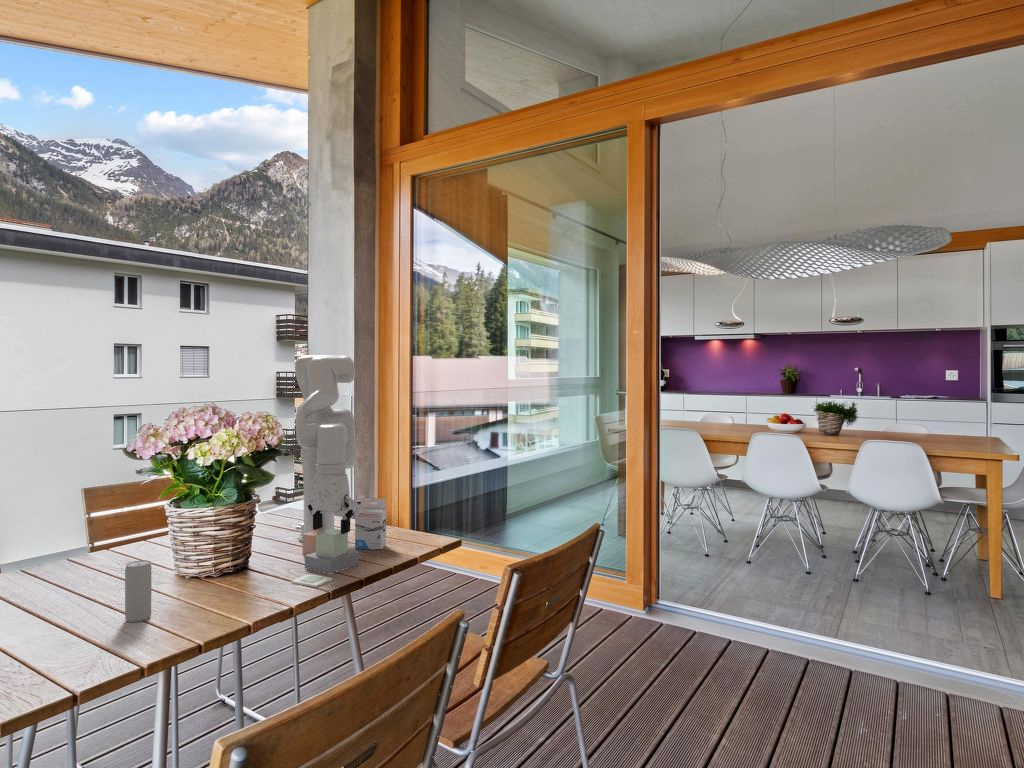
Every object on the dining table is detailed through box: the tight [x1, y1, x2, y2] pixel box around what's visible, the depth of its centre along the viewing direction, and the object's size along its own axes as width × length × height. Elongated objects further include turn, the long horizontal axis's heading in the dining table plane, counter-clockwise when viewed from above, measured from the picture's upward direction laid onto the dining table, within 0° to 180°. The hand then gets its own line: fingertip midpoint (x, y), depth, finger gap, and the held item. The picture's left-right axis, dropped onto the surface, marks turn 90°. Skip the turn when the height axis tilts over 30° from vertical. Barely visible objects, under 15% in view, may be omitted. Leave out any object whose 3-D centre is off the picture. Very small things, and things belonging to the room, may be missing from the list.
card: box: [291, 573, 333, 588], centre depth 154 cm, size 8×6×1 cm
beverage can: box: [124, 559, 152, 624], centre depth 129 cm, size 5×5×12 cm
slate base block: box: [304, 549, 359, 575], centre depth 166 cm, size 10×10×4 cm
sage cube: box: [316, 528, 349, 558], centre depth 166 cm, size 6×6×6 cm
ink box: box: [354, 497, 387, 550], centre depth 185 cm, size 9×5×15 cm, turn 84°
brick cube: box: [302, 530, 323, 555], centre depth 180 cm, size 6×6×6 cm
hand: (331, 530), depth 167 cm, fingers open, 9 cm apart
